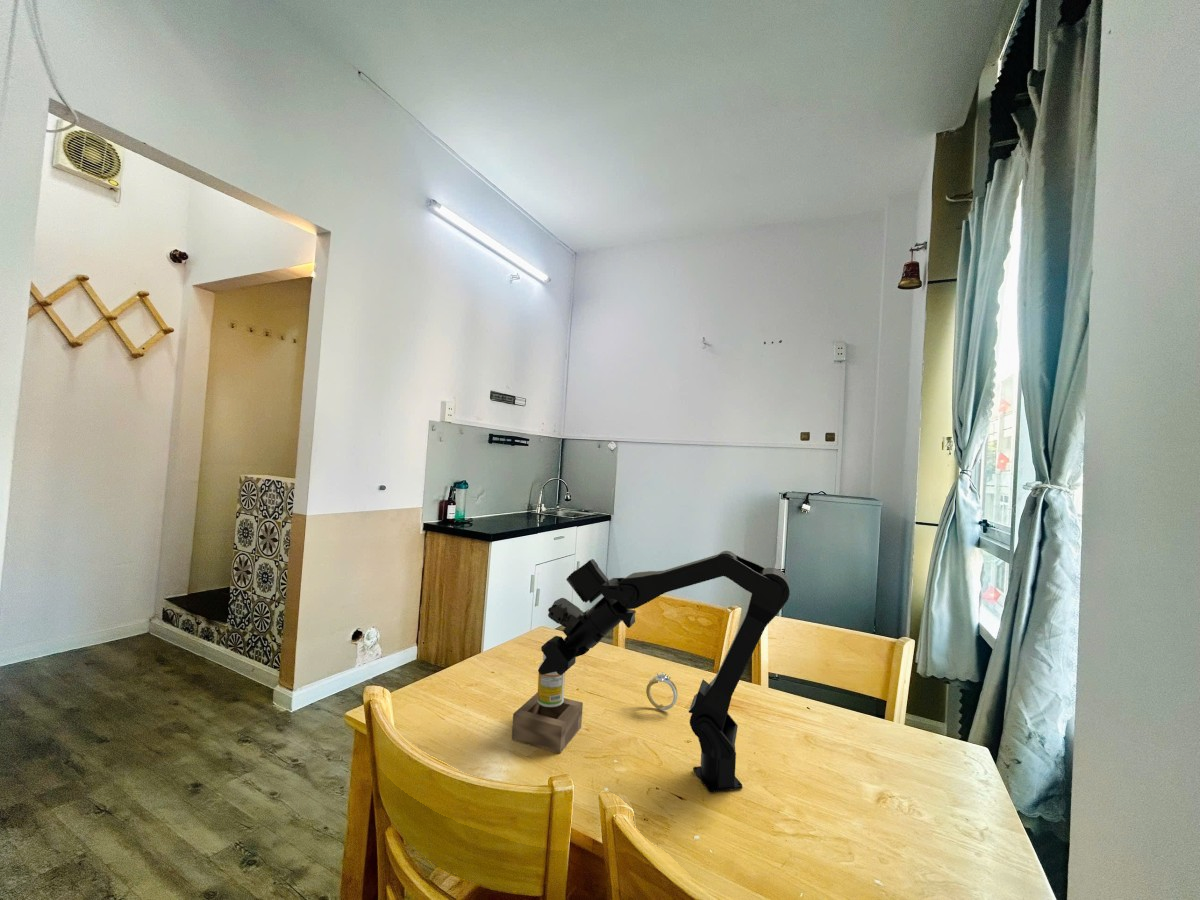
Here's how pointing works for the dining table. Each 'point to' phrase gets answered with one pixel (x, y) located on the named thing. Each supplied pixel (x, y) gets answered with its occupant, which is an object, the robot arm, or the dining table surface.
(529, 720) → the walnut well block
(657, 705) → the diamond engagement ring
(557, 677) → the supplement bottle
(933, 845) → the dining table surface
